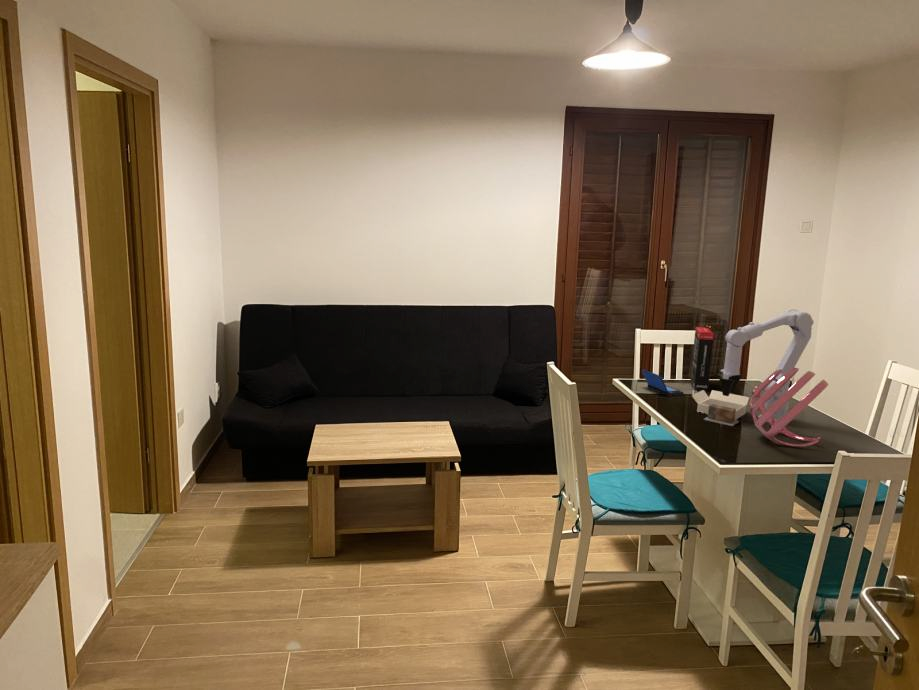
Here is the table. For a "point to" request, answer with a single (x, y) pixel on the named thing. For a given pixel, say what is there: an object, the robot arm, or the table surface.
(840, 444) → the table surface
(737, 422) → the grey mat
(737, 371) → the robot arm
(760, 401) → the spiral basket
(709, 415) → the capped block
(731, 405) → the carton
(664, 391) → the handheld game console
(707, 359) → the graphics card box
